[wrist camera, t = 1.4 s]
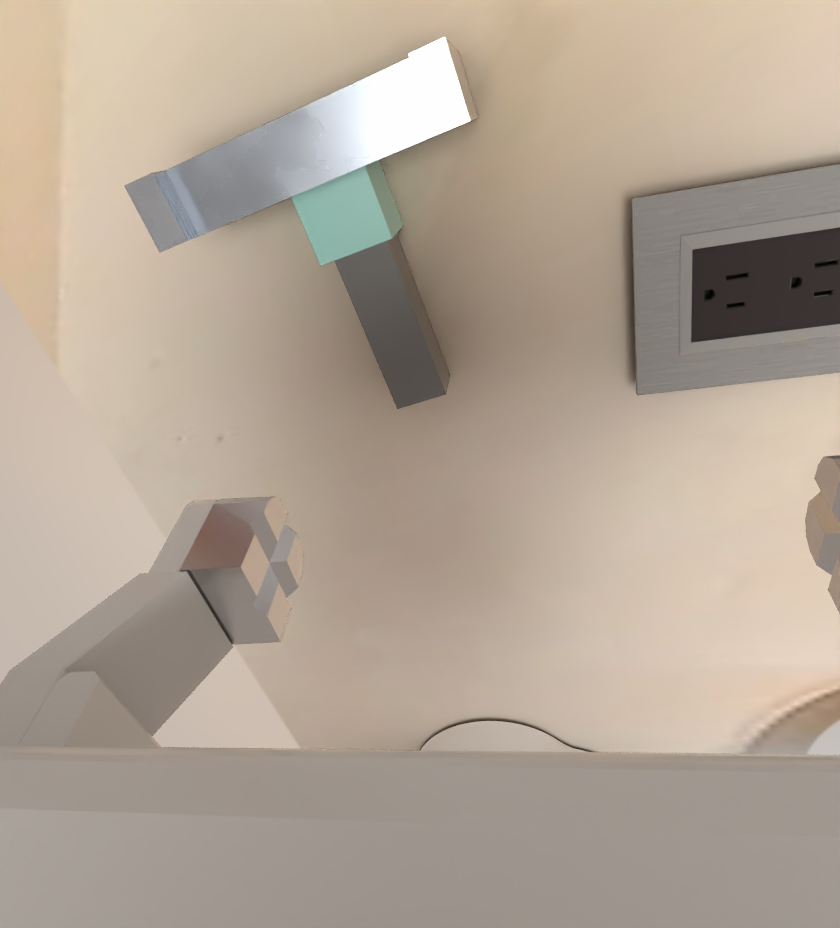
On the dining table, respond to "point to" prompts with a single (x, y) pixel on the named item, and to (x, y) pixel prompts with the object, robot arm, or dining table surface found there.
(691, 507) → the dining table surface
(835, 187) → the electrical outlet
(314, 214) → the plug
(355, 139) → the grey piece
